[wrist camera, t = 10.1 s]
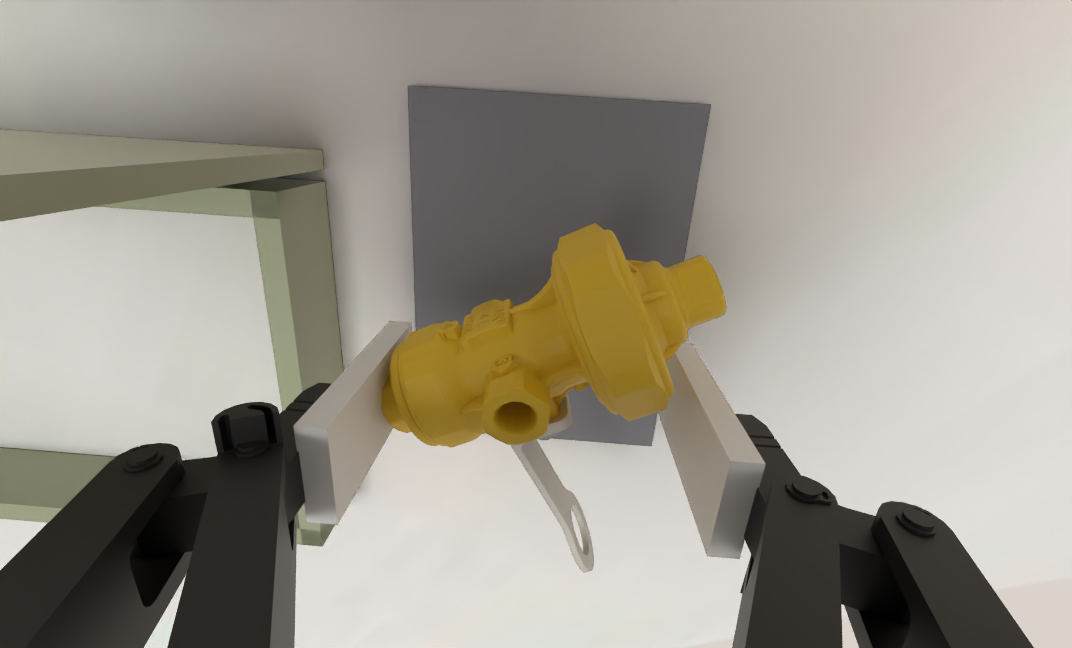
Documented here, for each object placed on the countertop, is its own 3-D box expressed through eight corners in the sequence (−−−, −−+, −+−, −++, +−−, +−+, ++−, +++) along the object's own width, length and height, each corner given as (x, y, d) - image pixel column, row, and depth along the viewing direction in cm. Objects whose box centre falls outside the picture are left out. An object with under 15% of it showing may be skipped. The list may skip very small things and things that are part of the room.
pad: (411, 86, 20) (407, 85, 20) (706, 104, 20) (711, 104, 19) (421, 421, 26) (418, 427, 25) (649, 439, 26) (651, 446, 25)
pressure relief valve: (373, 295, 16) (664, 173, 15) (521, 514, 22) (744, 445, 20) (312, 400, 12) (732, 238, 10) (520, 645, 17) (811, 571, 15)
